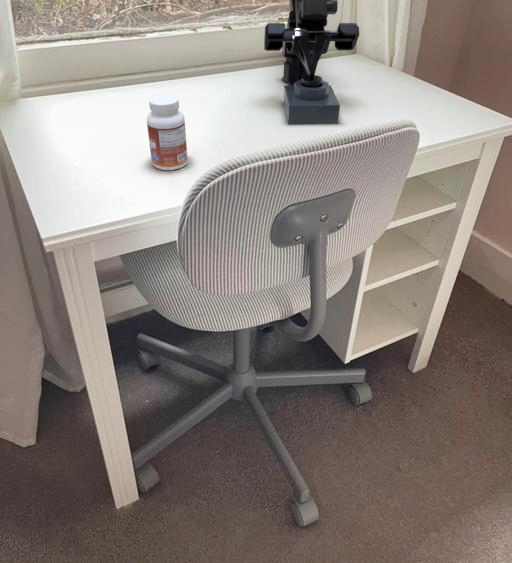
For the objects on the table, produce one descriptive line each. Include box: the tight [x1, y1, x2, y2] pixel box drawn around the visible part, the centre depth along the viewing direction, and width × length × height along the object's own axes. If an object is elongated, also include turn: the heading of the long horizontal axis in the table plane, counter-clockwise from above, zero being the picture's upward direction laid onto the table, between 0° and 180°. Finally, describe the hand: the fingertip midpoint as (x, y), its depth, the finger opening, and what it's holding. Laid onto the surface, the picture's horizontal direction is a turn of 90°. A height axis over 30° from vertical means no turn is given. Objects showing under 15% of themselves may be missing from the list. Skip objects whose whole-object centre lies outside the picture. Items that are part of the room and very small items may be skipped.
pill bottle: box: [146, 94, 188, 171], centre depth 89 cm, size 6×6×11 cm
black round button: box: [302, 75, 323, 88], centre depth 108 cm, size 4×4×2 cm
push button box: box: [283, 79, 341, 125], centre depth 110 cm, size 12×10×6 cm
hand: (312, 76), depth 107 cm, fingers closed, pressing on black round button
